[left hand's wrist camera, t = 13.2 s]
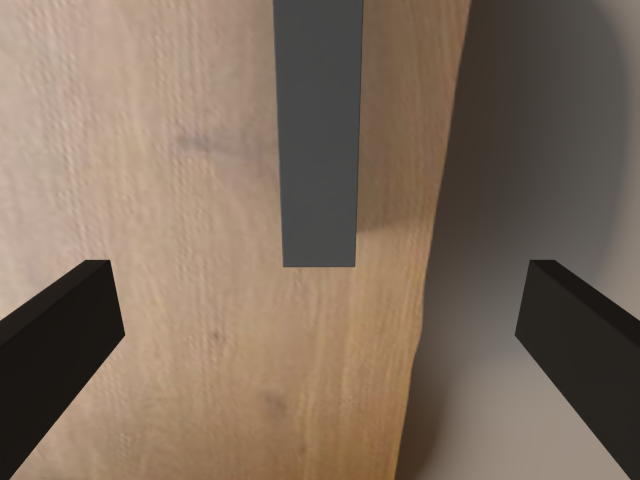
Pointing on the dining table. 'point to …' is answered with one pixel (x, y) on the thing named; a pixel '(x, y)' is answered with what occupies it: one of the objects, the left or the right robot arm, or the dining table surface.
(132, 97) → the dining table surface
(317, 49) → the post
